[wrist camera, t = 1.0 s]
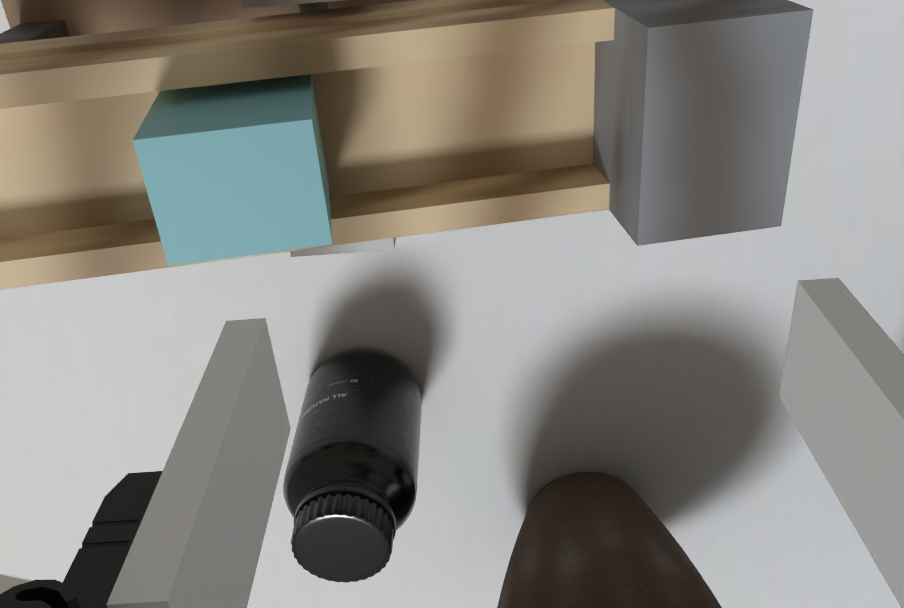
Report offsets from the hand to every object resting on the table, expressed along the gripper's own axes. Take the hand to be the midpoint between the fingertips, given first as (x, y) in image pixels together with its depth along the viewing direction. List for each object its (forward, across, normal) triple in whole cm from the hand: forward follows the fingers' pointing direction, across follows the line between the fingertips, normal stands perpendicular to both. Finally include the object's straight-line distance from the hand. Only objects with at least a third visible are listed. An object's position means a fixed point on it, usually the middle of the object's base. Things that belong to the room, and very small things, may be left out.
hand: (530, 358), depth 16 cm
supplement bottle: (+26, +8, +20) cm, 34 cm away
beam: (+17, +6, 0) cm, 18 cm away
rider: (+14, +8, 0) cm, 17 cm away
